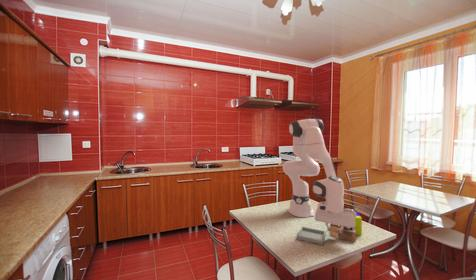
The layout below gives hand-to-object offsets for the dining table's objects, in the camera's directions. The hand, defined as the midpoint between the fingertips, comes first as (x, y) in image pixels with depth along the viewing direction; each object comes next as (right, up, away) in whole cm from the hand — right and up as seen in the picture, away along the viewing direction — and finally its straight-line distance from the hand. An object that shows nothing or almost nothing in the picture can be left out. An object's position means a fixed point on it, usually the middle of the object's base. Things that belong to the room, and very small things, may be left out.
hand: (334, 231), depth 115 cm
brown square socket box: (+9, -5, +3) cm, 11 cm away
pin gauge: (+9, -5, +3) cm, 11 cm away
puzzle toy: (+15, -5, +11) cm, 19 cm away
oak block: (0, -2, 0) cm, 2 cm away
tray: (-11, -5, +3) cm, 13 cm away
